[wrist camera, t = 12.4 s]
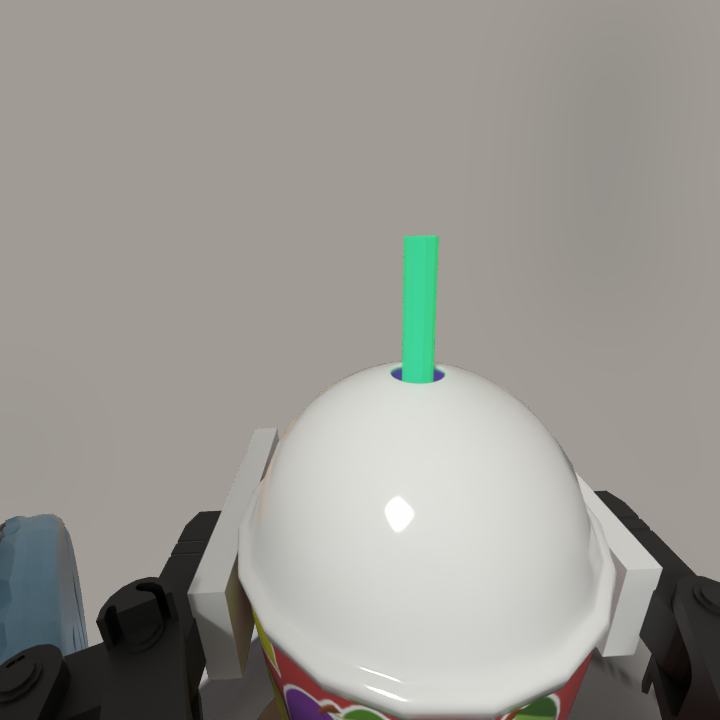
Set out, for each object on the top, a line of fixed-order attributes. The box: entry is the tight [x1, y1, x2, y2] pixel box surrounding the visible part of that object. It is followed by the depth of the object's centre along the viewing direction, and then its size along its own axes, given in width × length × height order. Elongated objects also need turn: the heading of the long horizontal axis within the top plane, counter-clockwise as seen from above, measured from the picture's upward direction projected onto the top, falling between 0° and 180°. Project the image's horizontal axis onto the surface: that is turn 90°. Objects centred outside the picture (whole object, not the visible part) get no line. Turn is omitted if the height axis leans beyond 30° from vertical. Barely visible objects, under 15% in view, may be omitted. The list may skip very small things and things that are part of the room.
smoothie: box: [238, 236, 617, 720], centre depth 11 cm, size 8×8×20 cm
